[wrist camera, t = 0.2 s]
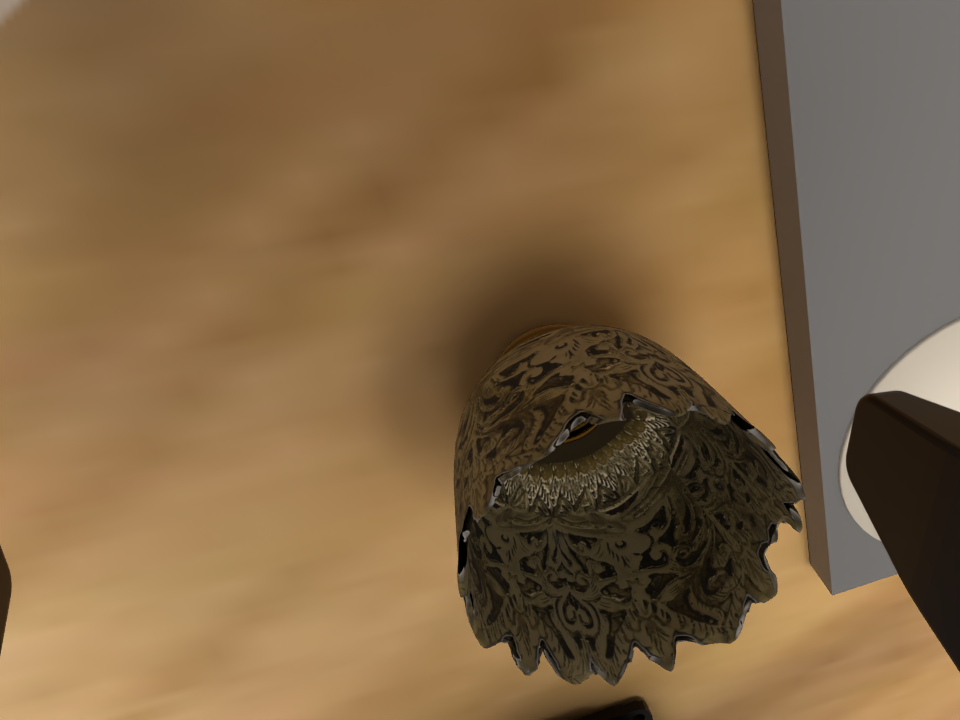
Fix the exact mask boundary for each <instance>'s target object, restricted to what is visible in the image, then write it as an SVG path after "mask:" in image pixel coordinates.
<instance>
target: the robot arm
mask: <svg viewBox="0 0 960 720" xmlns="http://www.w3.org/2000/svg"><path fill="white" fill-rule="evenodd" d="M846 468H847V473H848V476H849V479H850V481H851V483H852V485H853V487H854V489H855V491H856V493H857V495H858V497H859V499H860V501H861V503H862V505H863V506H864V508H865V510H866V512H867V514H868V516H869V518H870V520H871V522H872V524H873V526H874V528H875V530H876V532H877V534H878V536H879V538H880V540H881V542H882V544H883V545H884V547H885V549H886V551H887V553H888V555H889V557H890V559H891V561H892V563H893V565H894V567H895V569H896V571H897V573H898V575H899V577H900V578H901V580H902V582H903V584H904V585H905V587H906V589H907V591H908V593H909V594H910V596H911V598H912V599H913V601H914V602H915V604H916V606H917V607H918V609H919V611H920V612H921V614H922V615H923V617H924V618H925V620H926V621H927V623H928V624H929V626H930V627H931V629H932V631H933V632H934V634H935V635H936V637H937V638H938V640H939V641H940V643H941V644H942V646H943V647H944V649H945V650H946V652H947V653H948V655H949V656H950V658H951V659H952V661H953V663H954V664H955V666H956V667H957V669H958V670H959V672H960V412H958V411H956V410H953V409H950V408H947V407H945V406H942V405H939V404H936V403H934V402H931V401H928V400H926V399H923V398H920V397H917V396H915V395H912V394H909V393H906V392H903V391H896V390H894V391H886V392H879V393H871V394H866V395H864V396H863V397H861V398H860V400H859V401H858V403H857V406H856V409H855V414H854V419H853V423H852V428H851V433H850V438H849V443H848V448H847V453H846ZM11 588H12V583H11V574H10V570H9V567H8V564H7V562H6V559H5V556H4V554H3V551H2V549H1V546H0V654H1V649H2V643H3V637H4V632H5V626H6V621H7V615H8V609H9V604H10V598H11ZM578 720H653V718H652V715H651V712H650V710H649V707H648V705H647V703H646V702H644V701H639V700H637V701H632V702H629V703H626V704H623V705H620V706H617V707H614V708H611V709H608V710H605V711H602V712H599V713H596V714H593V715H590V716H587V717H584V718H581V719H578Z"/></svg>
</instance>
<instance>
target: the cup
mask: <svg viewBox="0 0 960 720" xmlns="http://www.w3.org/2000/svg"><path fill="white" fill-rule="evenodd" d="M775 448H776V447H775V446H774V445H773V443H772V442H771V441H770V440H769V439H768V438H767V437H766V436H765V435H764V434H762V433H761V432H760V431H759V430H758V429H757V428H755V427H754V426H752V425H751V424H750V423H749V422H748V421H747V420H746V419H745V418H744V417H743V416H742V415H741V414H740V413H739V412H738V411H737V410H736V409H735V408H734V407H732V406H731V405H730V404H729V403H728V402H727V401H726V400H725V399H724V398H723V397H722V396H721V395H720V394H719V393H718V392H717V391H716V390H715V389H713V388H712V387H711V386H710V385H709V384H708V383H707V382H706V381H705V380H704V379H703V378H702V377H700V376H699V375H698V374H697V373H696V372H695V371H693V370H692V369H691V368H690V367H689V366H688V365H686V364H685V363H684V362H683V361H682V360H680V359H679V358H678V357H676V356H675V355H674V354H672V353H671V352H669V351H668V350H666V349H665V348H663V347H662V346H660V345H658V344H656V343H655V342H653V341H651V340H649V339H647V338H645V337H643V336H640V335H638V334H636V333H632V332H629V331H626V330H622V329H618V328H613V327H608V326H599V325H578V326H570V325H561V324H557V325H546V326H542V327H538V328H535V329H533V330H530V331H528V332H526V333H524V334H522V335H521V336H519V337H518V338H516V339H515V340H514V341H513V342H512V343H510V344H509V345H508V347H507V348H506V349H505V350H504V351H503V353H502V354H501V355H500V357H499V359H498V360H497V362H496V363H495V364H494V365H493V366H492V367H491V368H490V369H489V370H488V371H487V372H486V373H485V375H484V376H483V377H482V378H481V380H480V381H479V383H478V384H477V386H476V387H475V389H474V391H473V392H472V394H471V396H470V398H469V400H468V402H467V404H466V407H465V409H464V411H463V414H462V417H461V420H460V425H459V430H458V435H457V440H456V447H455V461H454V495H455V515H456V532H457V548H458V572H457V577H458V587H459V593H460V597H463V598H464V601H465V606H466V612H467V616H468V619H469V623H470V625H471V627H472V630H473V632H474V634H475V636H476V638H477V640H478V641H479V643H480V645H481V646H483V648H490V647H492V646H494V645H496V644H497V643H499V642H503V643H508V644H509V647H510V649H511V653H512V657H513V659H514V661H515V662H516V665H517V667H518V668H519V669H520V670H522V672H523V673H524V674H525V675H531V674H532V673H533V672H534V671H536V670H537V669H538V665H539V663H540V656H541V654H542V651H543V653H544V655H545V657H546V658H547V660H548V661H549V663H550V665H551V666H552V667H553V669H554V670H555V672H556V673H557V675H558V676H560V677H561V678H563V679H564V680H566V681H567V682H569V683H571V684H581V682H582V681H584V680H586V679H588V678H589V676H590V675H591V674H592V673H594V674H595V675H596V674H599V675H600V676H601V677H603V678H604V679H605V680H606V681H607V682H608V683H609V684H611V685H613V686H615V685H617V684H618V682H619V681H620V679H621V677H622V676H623V674H624V672H625V669H626V667H627V664H628V663H629V662H632V657H633V653H634V651H633V648H634V647H638V648H639V649H640V651H642V652H643V653H644V654H645V655H646V656H647V657H648V659H649V660H651V661H653V662H655V663H657V664H658V665H660V666H661V667H663V668H664V669H666V670H668V671H672V670H673V668H674V664H675V657H676V644H677V643H678V642H682V641H690V642H695V643H698V644H700V645H707V644H714V643H728V644H730V643H732V642H733V641H735V640H736V639H737V638H738V636H739V634H740V632H741V630H742V627H743V623H744V620H745V617H746V613H747V612H749V610H750V606H751V604H752V603H755V604H756V603H759V602H763V603H765V602H767V601H769V600H770V599H772V598H773V597H774V596H776V594H777V578H776V576H775V574H774V573H773V572H772V571H771V569H770V567H769V564H768V561H767V559H766V557H765V552H766V550H767V548H768V546H770V544H772V543H774V542H777V540H778V531H777V528H778V526H779V524H780V522H782V523H786V522H787V523H788V524H790V525H791V526H792V528H793V529H795V530H796V531H798V532H799V533H800V531H801V530H802V521H801V518H800V515H799V513H798V511H797V510H796V508H795V507H794V505H793V504H794V503H795V504H796V503H797V502H798V501H800V500H804V499H805V496H806V495H805V492H804V489H803V487H802V484H801V483H800V481H799V479H798V478H797V476H796V475H795V474H794V473H793V471H792V470H791V469H790V468H789V467H788V465H787V464H786V463H785V462H784V461H783V460H782V459H781V458H780V457H779V455H778V454H777V453H776V452H775V450H774V449H775ZM777 525H778V526H777ZM693 640H694V641H693ZM539 646H540V648H539Z"/></svg>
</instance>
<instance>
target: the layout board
mask: <svg viewBox="0 0 960 720" xmlns="http://www.w3.org/2000/svg"><path fill="white" fill-rule="evenodd" d="M753 5H754V15H755V25H756V35H757V44H758V54H759V64H760V74H761V84H762V93H763V103H764V113H765V123H766V133H767V142H768V152H769V162H770V172H771V181H772V191H773V201H774V211H775V221H776V230H777V240H778V250H779V260H780V270H781V279H782V289H783V299H784V309H785V319H786V328H787V338H788V348H789V358H790V367H791V377H792V387H793V397H794V407H795V416H796V426H797V436H798V446H799V456H800V465H801V475H802V485H803V489H804V492H805V495H806V496H805V499H804V505H805V514H806V524H807V534H808V544H809V553H810V563H811V566H812V567H813V569H814V570H815V571H816V573H817V574H818V576H819V577H820V579H821V580H822V581H823V583H824V584H825V586H826V587H827V589H828V590H829V591H830V593H831V594H832V595H835V594H838V593H841V592H844V591H847V590H850V589H853V588H856V587H859V586H862V585H865V584H868V583H871V582H874V581H877V580H880V579H883V578H886V577H889V576H892V575H895V574H898V573H897V571H896V569H895V567H894V565H893V563H892V561H891V559H890V557H889V555H888V553H887V551H886V549H885V547H884V545H883V544H882V542H881V540H880V538H879V536H878V534H877V532H876V530H875V528H874V526H873V524H872V522H871V520H870V518H869V516H868V514H867V512H866V510H865V508H864V506H863V505H862V503H861V501H860V499H859V497H858V495H857V493H856V491H855V489H854V487H853V485H852V483H851V481H850V479H849V476H848V473H847V468H846V453H847V448H848V443H849V438H850V433H851V428H852V423H853V419H854V414H855V409H856V406H857V403H858V401H859V400H860V398H861V397H863V396H864V395H866V394H871V393H879V392H886V391H894V390H896V391H903V392H906V393H909V394H912V395H915V396H917V397H920V398H923V399H926V400H928V401H931V402H934V403H936V404H939V405H942V406H945V407H947V408H950V409H953V410H956V411H958V412H960V0H753Z"/></svg>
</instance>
